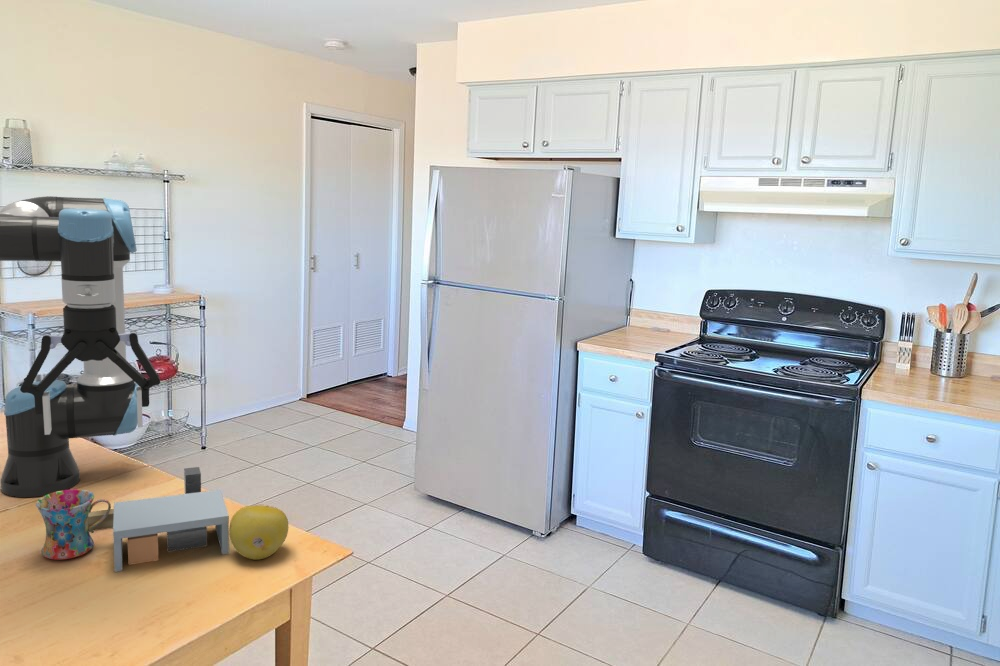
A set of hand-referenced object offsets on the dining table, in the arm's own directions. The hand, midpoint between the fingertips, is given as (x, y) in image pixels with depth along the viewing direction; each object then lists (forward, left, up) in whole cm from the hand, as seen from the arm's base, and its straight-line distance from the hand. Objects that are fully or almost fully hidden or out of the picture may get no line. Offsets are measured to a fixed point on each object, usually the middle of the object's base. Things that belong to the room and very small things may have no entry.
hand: (95, 428), depth 122 cm
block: (-7, +7, -28) cm, 30 cm away
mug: (-13, -5, -28) cm, 31 cm away
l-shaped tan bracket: (-22, -2, -28) cm, 36 cm away
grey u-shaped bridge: (-8, +12, -28) cm, 31 cm away
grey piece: (-16, +14, -28) cm, 36 cm away
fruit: (0, +27, -28) cm, 39 cm away
